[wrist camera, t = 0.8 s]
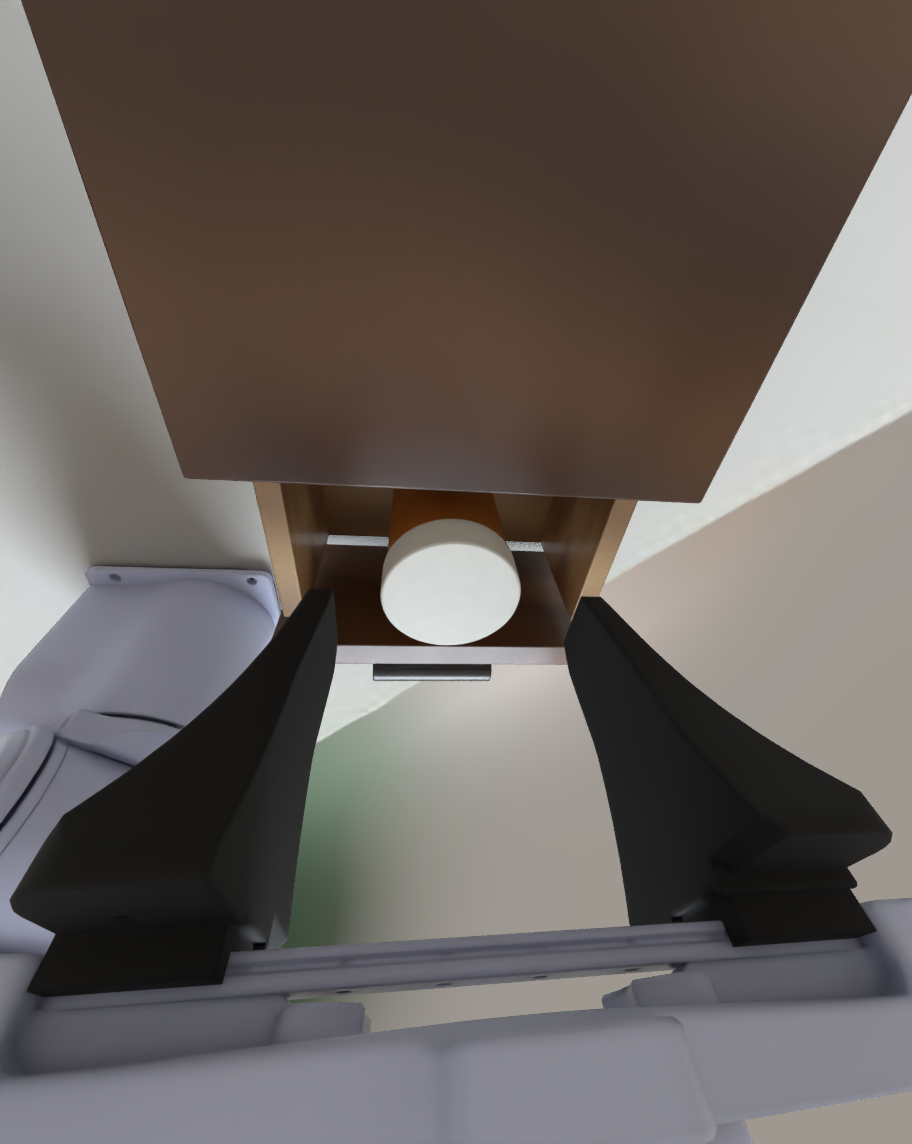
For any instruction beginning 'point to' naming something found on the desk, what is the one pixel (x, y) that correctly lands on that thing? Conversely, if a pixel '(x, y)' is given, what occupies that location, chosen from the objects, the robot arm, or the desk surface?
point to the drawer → (304, 561)
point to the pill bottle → (447, 567)
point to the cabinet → (469, 223)
